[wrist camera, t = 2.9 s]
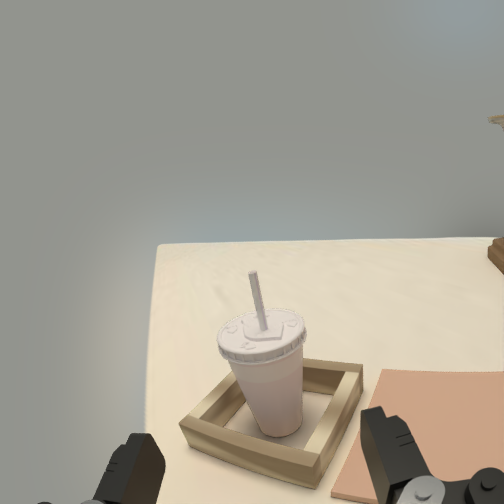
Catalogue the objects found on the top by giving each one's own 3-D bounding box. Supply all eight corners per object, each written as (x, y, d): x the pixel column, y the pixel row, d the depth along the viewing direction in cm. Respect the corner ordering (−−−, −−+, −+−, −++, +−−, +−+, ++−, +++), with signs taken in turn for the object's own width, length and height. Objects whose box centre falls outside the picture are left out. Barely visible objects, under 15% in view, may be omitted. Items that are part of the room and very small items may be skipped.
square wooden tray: (257, 373, 33) (251, 350, 32) (363, 389, 26) (362, 364, 26) (189, 446, 24) (178, 423, 23) (315, 489, 17) (312, 467, 17)
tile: (382, 375, 28) (382, 368, 27) (517, 377, 20) (519, 370, 20) (331, 496, 16) (330, 491, 16) (524, 506, 9) (529, 501, 9)
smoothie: (272, 461, 21) (230, 300, 17) (230, 421, 26) (185, 278, 23) (333, 418, 24) (316, 261, 20) (286, 389, 29) (259, 250, 26)
